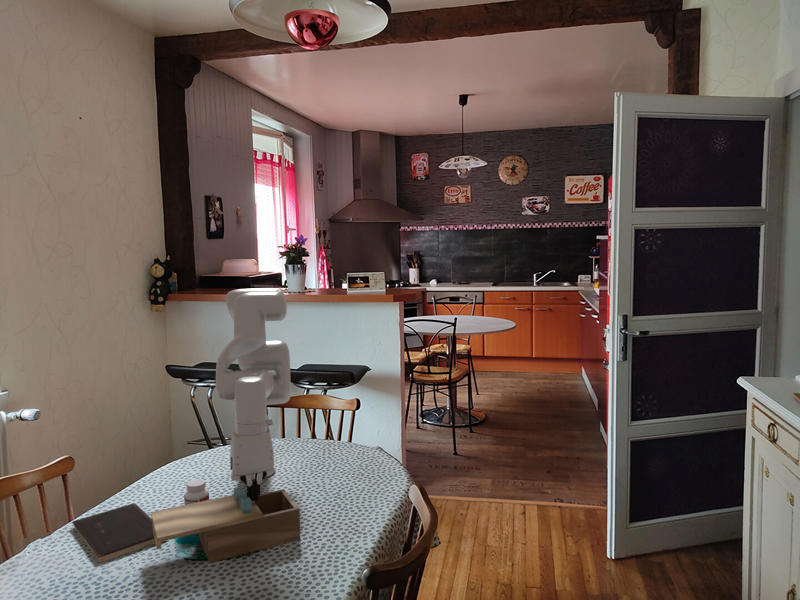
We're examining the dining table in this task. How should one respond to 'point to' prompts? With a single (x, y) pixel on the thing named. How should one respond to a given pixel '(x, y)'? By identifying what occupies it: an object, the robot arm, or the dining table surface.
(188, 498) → the pill bottle
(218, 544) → the brown boxy piece
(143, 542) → the hardcover book
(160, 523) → the toolbox lid
